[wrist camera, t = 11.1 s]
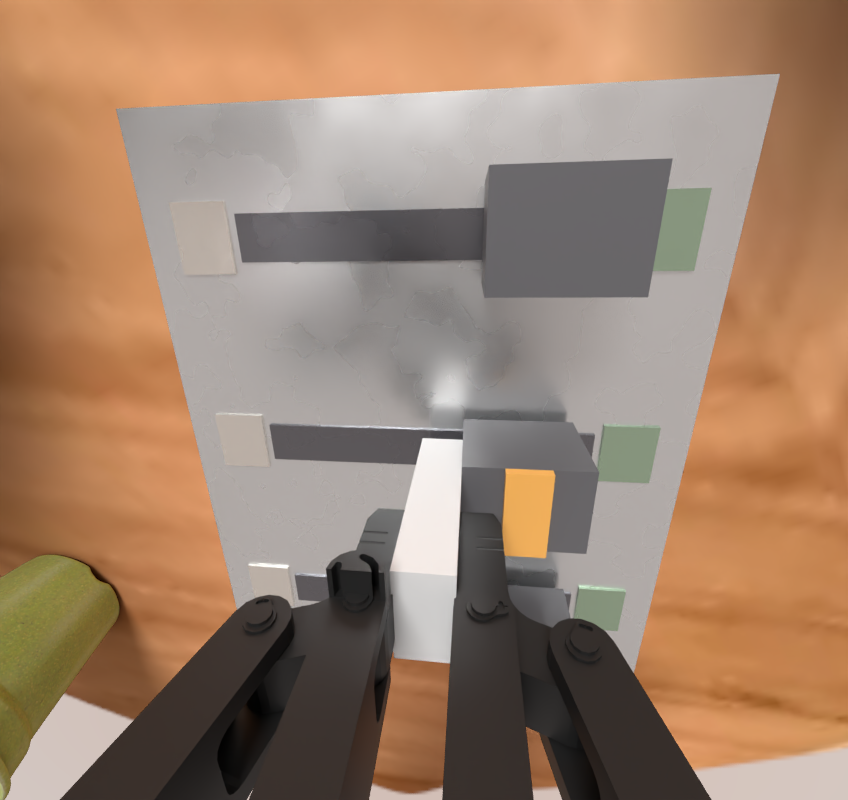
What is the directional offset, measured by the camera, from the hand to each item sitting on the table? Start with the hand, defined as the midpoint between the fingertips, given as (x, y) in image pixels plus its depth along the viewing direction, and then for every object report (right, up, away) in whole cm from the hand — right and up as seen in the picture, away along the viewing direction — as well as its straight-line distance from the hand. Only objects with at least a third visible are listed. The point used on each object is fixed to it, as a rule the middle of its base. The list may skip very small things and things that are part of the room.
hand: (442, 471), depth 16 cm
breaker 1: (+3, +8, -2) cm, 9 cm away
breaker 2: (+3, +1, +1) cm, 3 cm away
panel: (0, +1, +3) cm, 4 cm away
